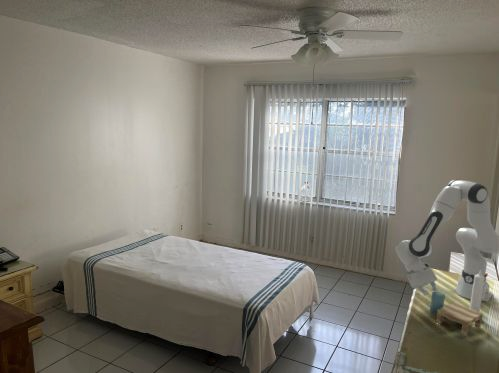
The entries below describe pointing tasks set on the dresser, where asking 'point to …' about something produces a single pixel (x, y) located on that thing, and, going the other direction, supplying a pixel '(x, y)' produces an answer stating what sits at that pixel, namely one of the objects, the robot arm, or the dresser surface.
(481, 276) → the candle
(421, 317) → the dresser surface
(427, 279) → the robot arm
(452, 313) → the small wooden stool
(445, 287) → the dresser surface
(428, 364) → the dresser surface
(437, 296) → the teal domed cylinder
